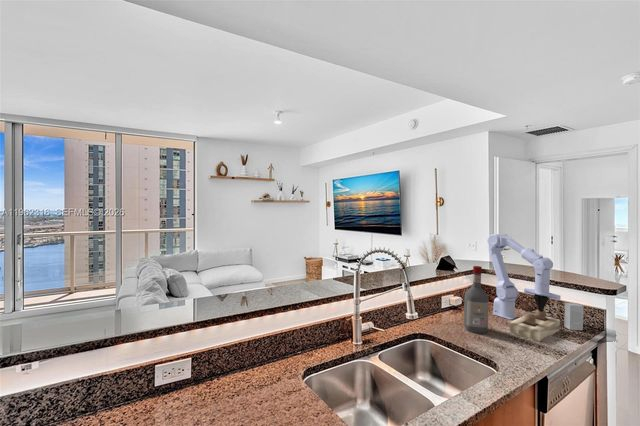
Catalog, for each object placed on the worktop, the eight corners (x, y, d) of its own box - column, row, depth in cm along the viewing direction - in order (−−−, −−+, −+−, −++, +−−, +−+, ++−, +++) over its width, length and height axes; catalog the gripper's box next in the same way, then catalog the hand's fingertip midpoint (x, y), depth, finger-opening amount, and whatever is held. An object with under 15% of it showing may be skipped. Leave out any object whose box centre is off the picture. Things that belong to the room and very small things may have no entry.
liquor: (488, 334, 144) (491, 269, 143) (467, 332, 146) (469, 267, 145) (482, 326, 153) (484, 265, 152) (462, 324, 154) (464, 264, 154)
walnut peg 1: (523, 325, 145) (523, 314, 145) (527, 323, 147) (527, 312, 147) (533, 328, 142) (533, 317, 142) (536, 326, 144) (537, 315, 144)
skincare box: (576, 327, 154) (577, 303, 154) (582, 330, 150) (584, 305, 150) (563, 326, 155) (564, 302, 155) (569, 329, 151) (570, 305, 150)
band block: (509, 332, 146) (510, 321, 146) (531, 322, 160) (531, 312, 160) (539, 342, 136) (539, 330, 136) (559, 330, 150) (560, 319, 150)
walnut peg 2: (534, 320, 152) (534, 310, 152) (537, 319, 154) (537, 309, 154) (543, 323, 149) (544, 312, 149) (546, 321, 151) (547, 311, 151)
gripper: (521, 280, 155) (520, 308, 155) (557, 287, 143) (555, 317, 143) (527, 279, 159) (526, 305, 159) (562, 285, 147) (561, 314, 147)
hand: (540, 311), depth 151 cm, fingers closed, pressing on walnut peg 2
